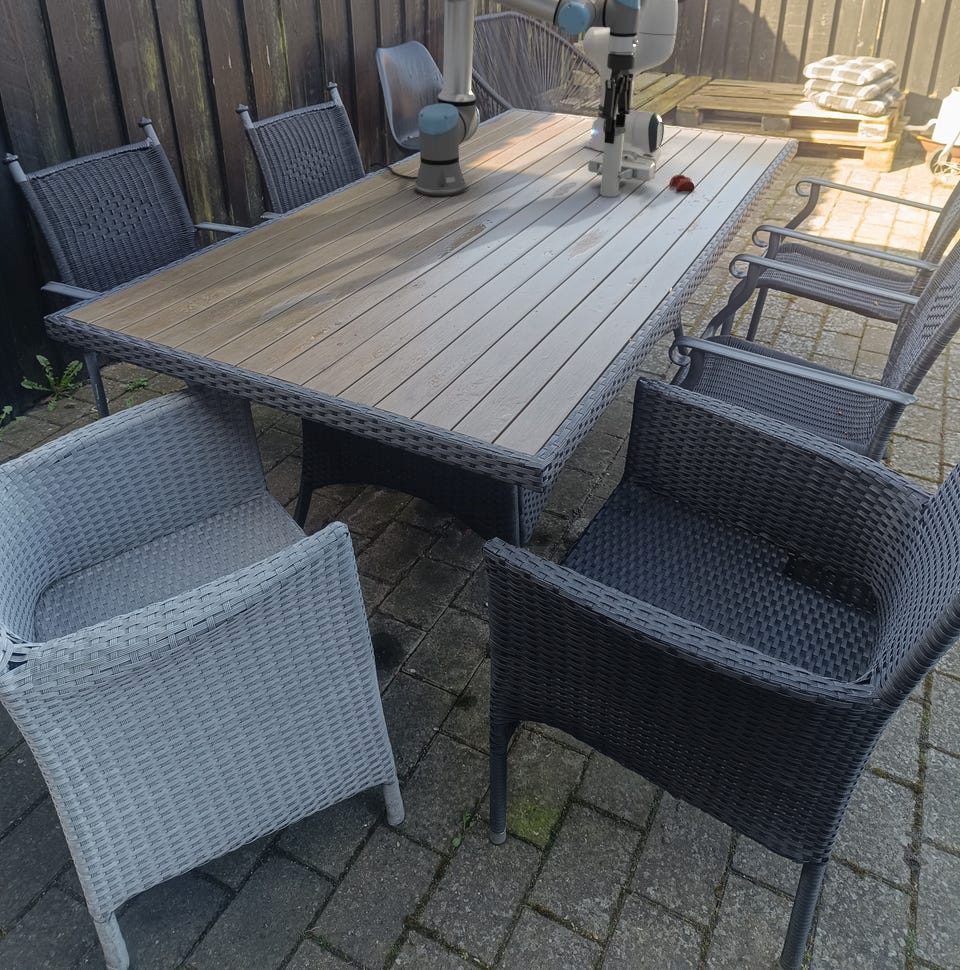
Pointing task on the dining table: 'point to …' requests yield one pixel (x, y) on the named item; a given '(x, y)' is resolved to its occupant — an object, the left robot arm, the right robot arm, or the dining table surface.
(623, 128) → the lid
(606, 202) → the dining table surface
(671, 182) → the dental model
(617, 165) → the bottle
